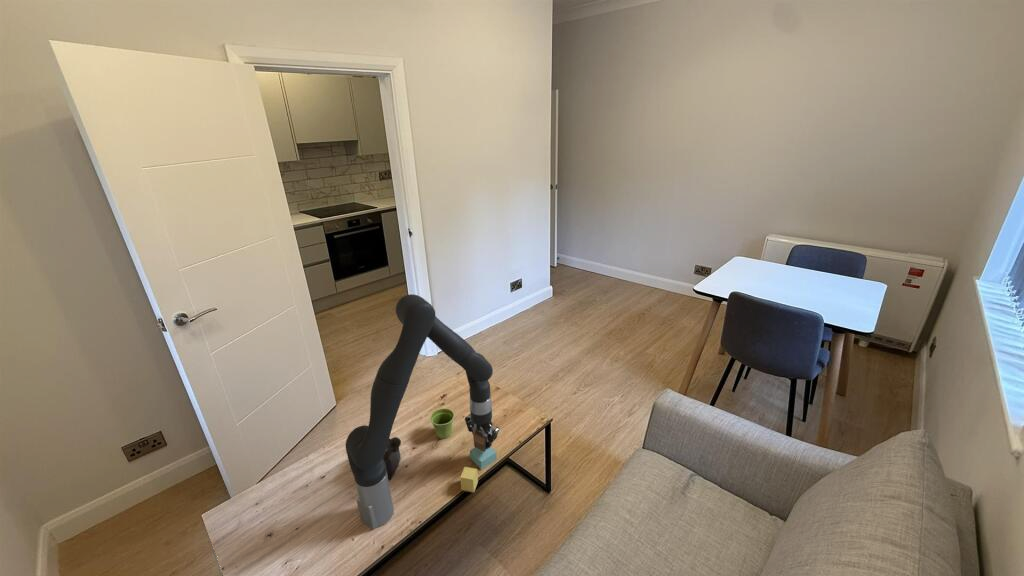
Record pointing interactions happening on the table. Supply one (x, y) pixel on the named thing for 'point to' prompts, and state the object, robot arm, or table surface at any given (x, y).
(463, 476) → the mustard block
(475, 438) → the walnut block
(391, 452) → the dark brown ornament
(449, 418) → the plant pot
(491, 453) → the teal plinth block
